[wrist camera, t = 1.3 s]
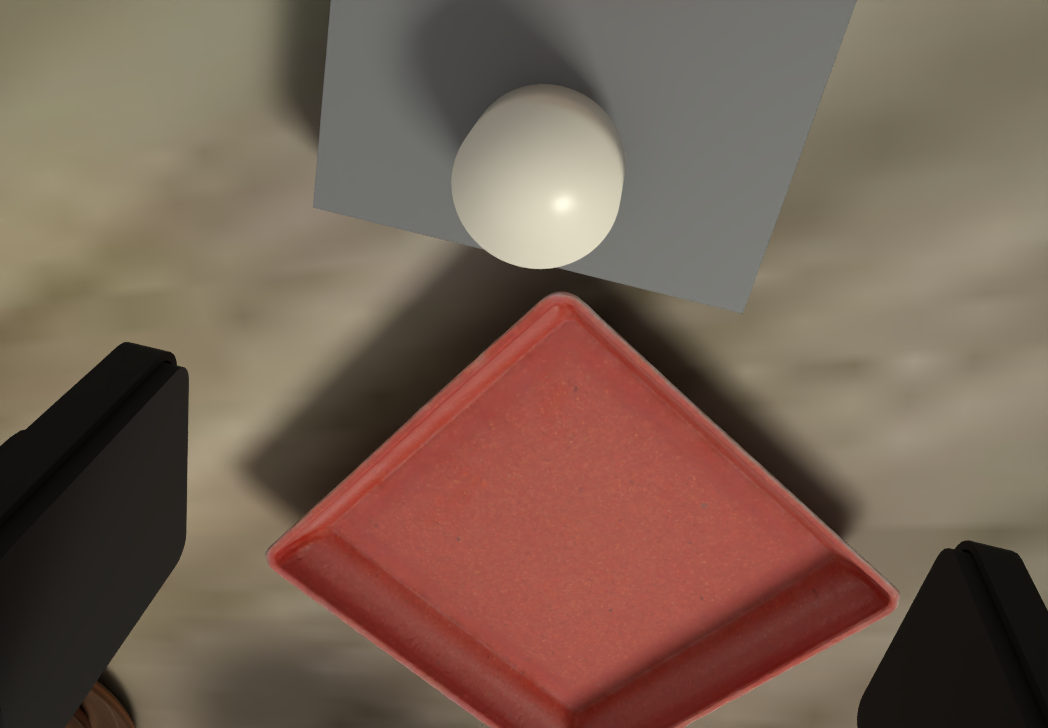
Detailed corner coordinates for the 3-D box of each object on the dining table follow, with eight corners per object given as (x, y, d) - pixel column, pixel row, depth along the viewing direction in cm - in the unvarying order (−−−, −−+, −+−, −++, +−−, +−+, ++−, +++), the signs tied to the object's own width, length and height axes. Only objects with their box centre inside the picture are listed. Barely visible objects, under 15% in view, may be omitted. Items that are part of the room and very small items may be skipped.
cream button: (482, 66, 26) (465, 86, 24) (643, 105, 26) (640, 128, 24) (456, 218, 28) (439, 246, 27) (604, 254, 28) (598, 286, 26)
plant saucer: (896, 548, 37) (914, 608, 35) (579, 733, 46) (572, 794, 43) (571, 241, 33) (560, 281, 30) (284, 508, 41) (254, 559, 38)
